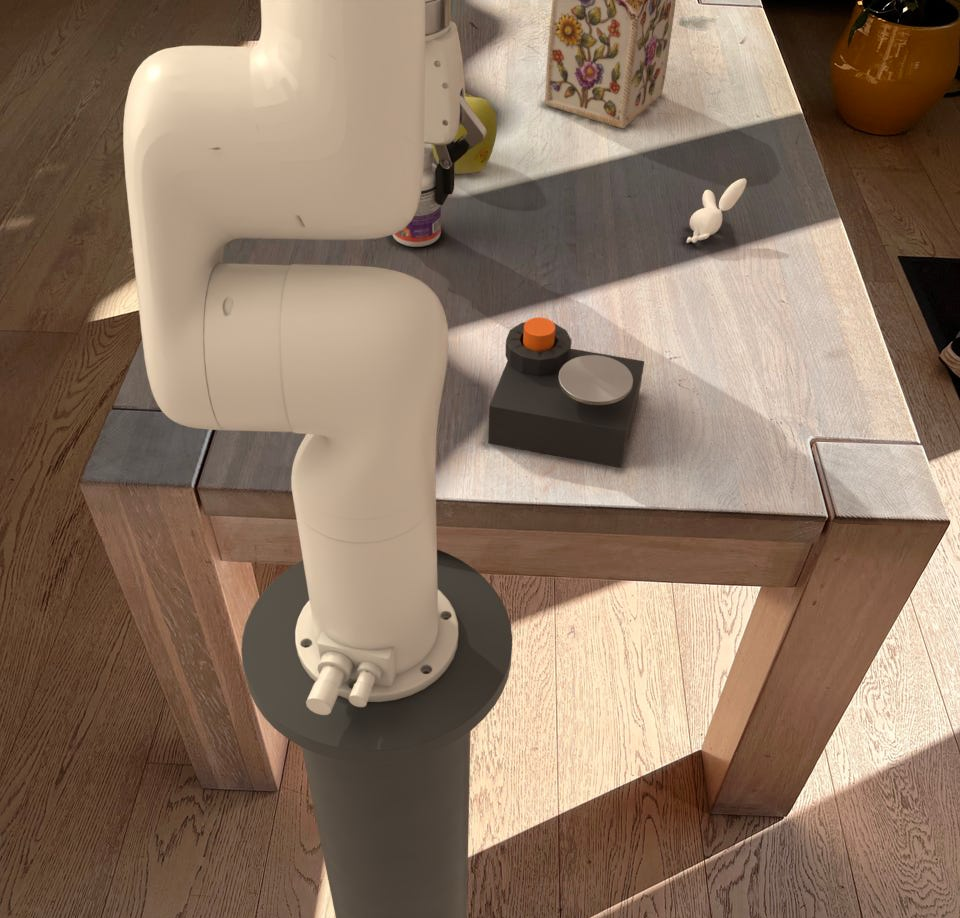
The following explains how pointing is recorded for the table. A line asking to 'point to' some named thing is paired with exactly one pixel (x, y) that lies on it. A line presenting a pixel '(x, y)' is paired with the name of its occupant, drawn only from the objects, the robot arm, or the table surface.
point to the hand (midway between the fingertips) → (415, 192)
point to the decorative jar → (607, 57)
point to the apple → (482, 151)
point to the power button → (539, 334)
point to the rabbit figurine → (714, 211)
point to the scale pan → (595, 380)
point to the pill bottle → (424, 210)
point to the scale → (557, 405)
